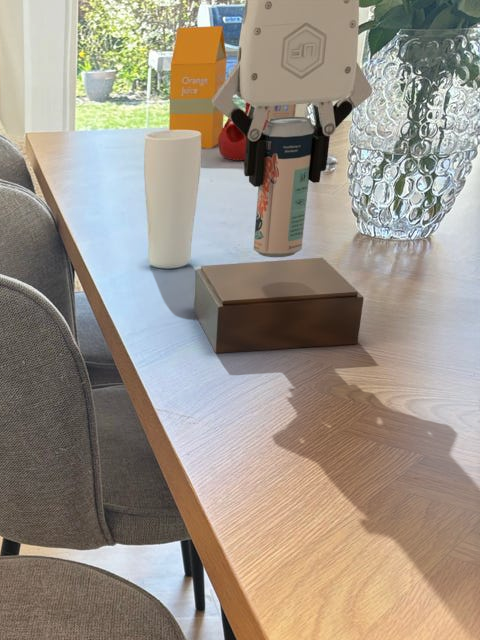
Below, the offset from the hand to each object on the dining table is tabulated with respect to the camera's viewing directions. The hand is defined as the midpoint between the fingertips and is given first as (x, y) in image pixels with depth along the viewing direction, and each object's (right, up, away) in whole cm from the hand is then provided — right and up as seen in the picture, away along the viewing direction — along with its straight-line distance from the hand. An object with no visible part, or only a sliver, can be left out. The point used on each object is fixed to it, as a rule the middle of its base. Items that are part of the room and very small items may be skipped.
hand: (283, 179), depth 96 cm
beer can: (0, -6, +4) cm, 7 cm away
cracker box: (+28, +57, +104) cm, 122 cm away
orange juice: (+12, +54, +101) cm, 115 cm away
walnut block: (+1, -12, +8) cm, 14 cm away
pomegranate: (+17, +44, +86) cm, 98 cm away
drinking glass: (-6, +3, +31) cm, 31 cm away
